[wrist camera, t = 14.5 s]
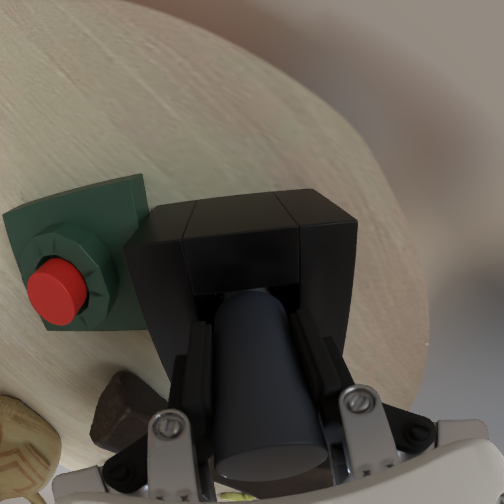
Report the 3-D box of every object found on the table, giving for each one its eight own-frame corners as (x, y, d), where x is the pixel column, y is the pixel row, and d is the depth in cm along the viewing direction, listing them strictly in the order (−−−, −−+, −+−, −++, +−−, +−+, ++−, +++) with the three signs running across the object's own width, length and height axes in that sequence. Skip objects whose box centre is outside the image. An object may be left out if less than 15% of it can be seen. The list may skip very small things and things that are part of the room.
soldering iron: (220, 302, 16) (224, 484, 6) (212, 254, 15) (202, 451, 5) (273, 296, 17) (321, 471, 7) (270, 247, 15) (337, 432, 5)
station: (58, 314, 17) (37, 346, 14) (20, 204, 14) (-16, 224, 10) (172, 307, 18) (162, 348, 14) (142, 173, 14) (116, 187, 10)
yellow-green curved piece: (277, 484, 36) (278, 494, 34) (246, 498, 40) (247, 506, 38) (241, 483, 34) (242, 493, 32) (215, 496, 38) (215, 504, 36)
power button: (54, 308, 13) (41, 325, 11) (34, 260, 12) (18, 275, 10) (95, 306, 13) (83, 326, 12) (75, 254, 12) (59, 270, 10)
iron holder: (185, 330, 19) (176, 397, 13) (156, 205, 15) (121, 247, 10) (311, 314, 19) (338, 377, 14) (313, 188, 15) (358, 220, 10)
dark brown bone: (322, 433, 31) (139, 330, 25) (368, 471, 21) (128, 369, 15) (275, 485, 29) (90, 402, 22) (308, 529, 19) (68, 458, 12)
